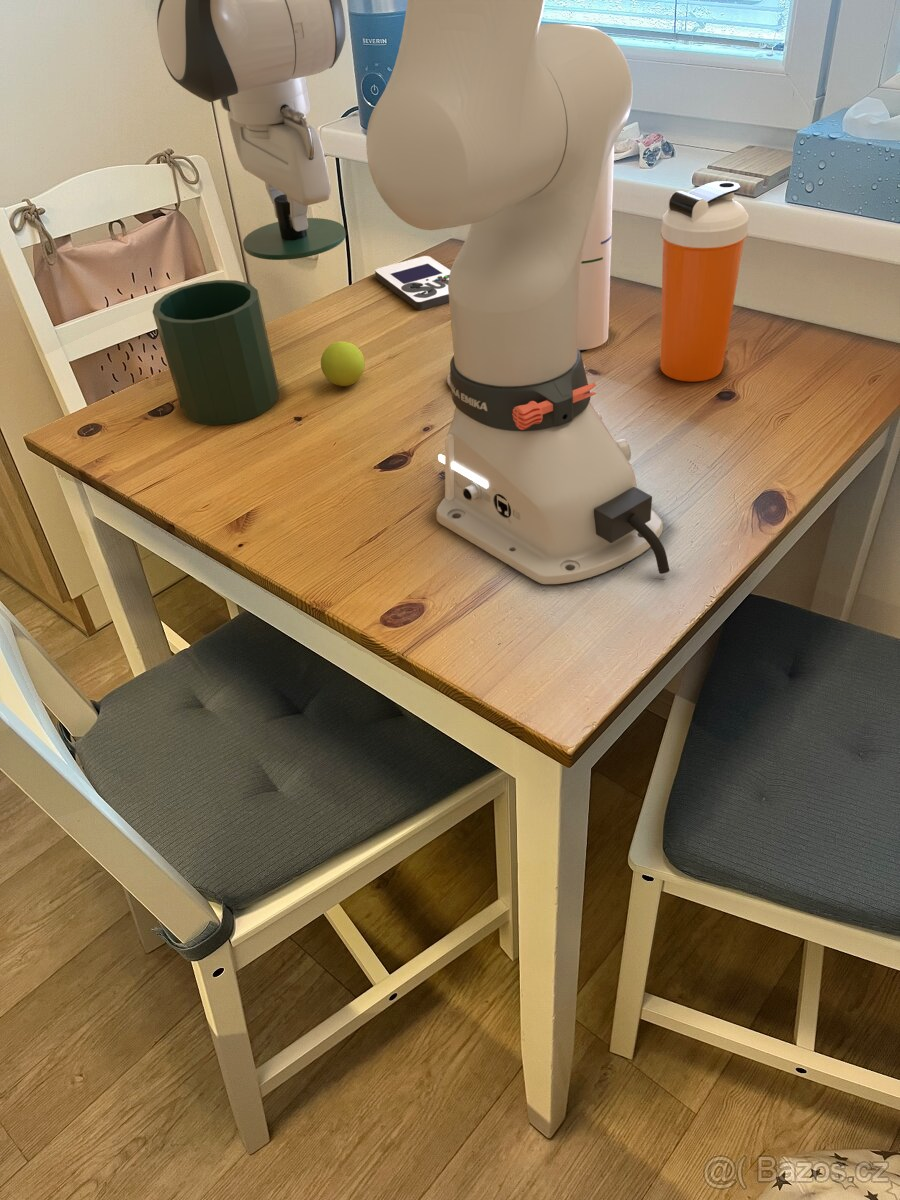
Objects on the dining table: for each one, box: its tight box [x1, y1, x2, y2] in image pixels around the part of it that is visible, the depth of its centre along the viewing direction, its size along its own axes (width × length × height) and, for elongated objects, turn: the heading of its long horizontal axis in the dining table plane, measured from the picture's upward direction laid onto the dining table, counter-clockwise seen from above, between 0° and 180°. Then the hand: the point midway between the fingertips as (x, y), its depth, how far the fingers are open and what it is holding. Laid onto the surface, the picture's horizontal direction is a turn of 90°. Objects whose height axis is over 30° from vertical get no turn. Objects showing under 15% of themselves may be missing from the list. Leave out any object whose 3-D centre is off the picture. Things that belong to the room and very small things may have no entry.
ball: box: [320, 340, 366, 387], centre depth 112 cm, size 5×5×5 cm
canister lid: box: [242, 194, 347, 261], centre depth 114 cm, size 13×13×6 cm
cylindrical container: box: [577, 144, 615, 351], centre depth 110 cm, size 7×7×25 cm
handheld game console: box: [374, 255, 451, 311], centre depth 134 cm, size 9×15×1 cm, turn 27°
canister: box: [152, 279, 280, 426], centre depth 108 cm, size 12×12×12 cm
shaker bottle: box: [660, 180, 750, 383], centre depth 103 cm, size 9×9×20 cm
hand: (292, 224), depth 114 cm, fingers closed on canister lid, 3 cm apart
